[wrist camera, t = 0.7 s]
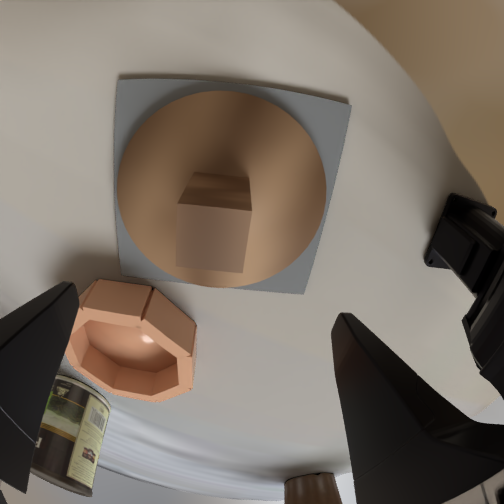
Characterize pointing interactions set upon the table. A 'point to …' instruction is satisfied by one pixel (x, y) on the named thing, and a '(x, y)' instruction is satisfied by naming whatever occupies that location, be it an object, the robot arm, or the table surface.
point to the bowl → (133, 342)
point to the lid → (221, 189)
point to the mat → (295, 104)
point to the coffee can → (71, 436)
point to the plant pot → (312, 490)
